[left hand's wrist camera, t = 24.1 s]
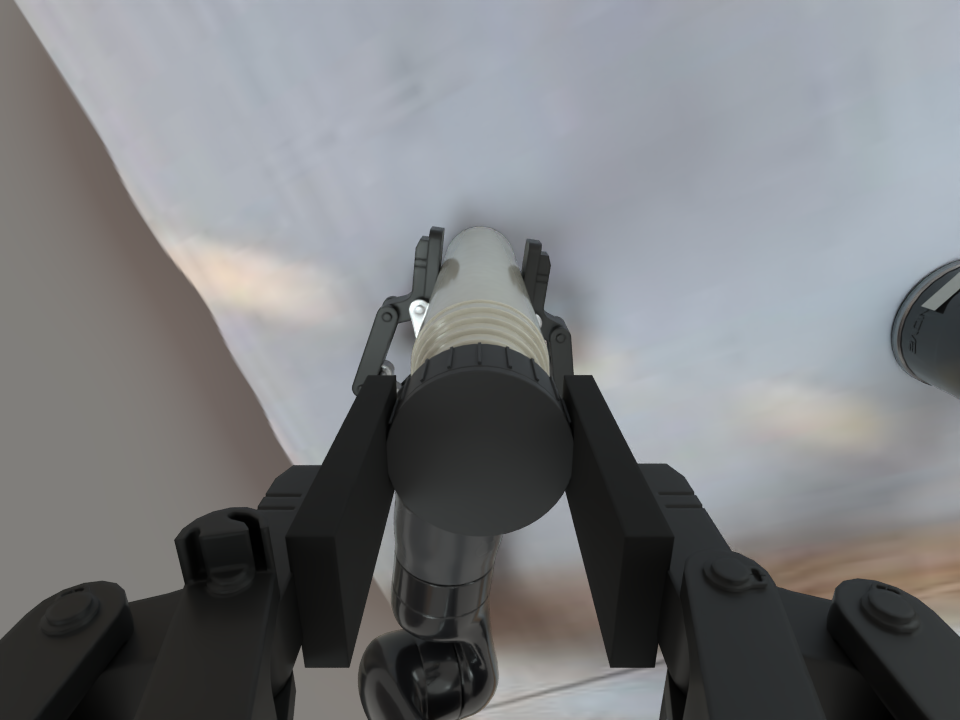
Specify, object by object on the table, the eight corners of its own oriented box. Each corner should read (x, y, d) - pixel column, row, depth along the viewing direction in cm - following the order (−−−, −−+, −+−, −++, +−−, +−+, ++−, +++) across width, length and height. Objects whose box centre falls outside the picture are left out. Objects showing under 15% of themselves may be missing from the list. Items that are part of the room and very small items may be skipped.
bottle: (496, 306, 38) (524, 548, 15) (434, 279, 38) (358, 487, 14) (526, 244, 37) (610, 402, 13) (461, 214, 36) (427, 325, 12)
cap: (368, 454, 15) (353, 496, 13) (439, 312, 14) (432, 335, 12) (515, 517, 16) (520, 563, 14) (597, 387, 14) (613, 420, 13)
